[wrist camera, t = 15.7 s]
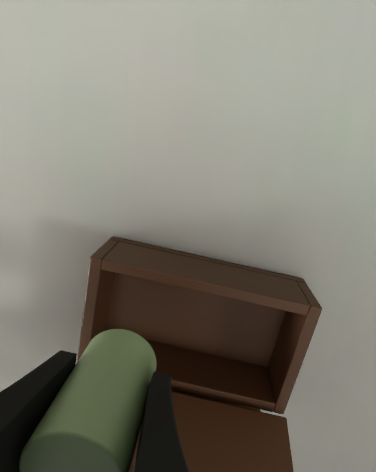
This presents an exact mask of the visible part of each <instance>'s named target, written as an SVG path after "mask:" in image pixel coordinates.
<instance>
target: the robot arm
mask: <svg viewBox="0 0 376 472" xmlns="http://www.w3.org/2000/svg"><path fill="white" fill-rule="evenodd" d="M76 355H77V354H75V353H70V352H66V351H62V350H61V351H59V352H58V353H56V354H55V355H53V356H52V357H51V358H49V359H48V360H47V361H45V362H44V363H42V364H41V365H40V366H38V367H37V368H36V369H34V370H33V371H31V372H30V373H28V374H27V375H25V376H24V377H23V378H21V379H20V380H18V381H17V382H15V383H14V384H12V385H11V386H9V387H8V388H6V389H4V390H3V391H1V392H0V472H20V471H19V460H20V456H21V452H22V450H23V448H24V447H25V445H26V443H27V442H28V440H29V439H30V437H31V435H32V434H33V432H34V431H35V429H36V427H37V426H38V424H39V423H40V421H41V419H42V418H43V416H44V415H45V413H46V411H47V410H48V408H49V407H50V405H51V403H52V402H53V400H54V399H55V397H56V396H57V394H58V392H59V391H60V389H61V388H62V386H63V384H64V383H65V381H66V380H67V378H68V376H69V375H70V373H71V372H72V370H73V368H74V367H75V363H76ZM171 380H172V378H171V376H170V375H168V374H163V373H159V372H153V375H152V379H151V382H150V386H149V391H148V396H147V401H146V406H145V411H144V416H143V421H142V425H141V430H140V435H139V440H138V446H137V452H136V458H135V464H134V471H133V472H189V470H188V467H187V464H186V461H185V457H184V454H183V451H182V447H181V443H180V439H179V435H178V431H177V426H176V421H175V415H174V409H173V402H172V391H171Z"/></svg>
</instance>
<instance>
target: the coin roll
mask: <svg viewBox="0 0 376 472" xmlns="http://www.w3.org/2000/svg"><path fill="white" fill-rule="evenodd" d="M156 364H157V363H156V356H155V353H154V351H153V349H152V347H151V346H150V344H149V343H148V342H147V341H146V340H145V339H144V338H143V337H141V336H140V335H138V334H136V333H134V332H132V331H129V330H125V329H110V330H106V331H104V332H101V333H100V334H98V335H96V336H95V337H94V338H93V339H92V340H91V342H90V343H89V345H88V346H87V348H86V349H85V351H84V352H83V354H82V356H81V357H80V359H79V360H78V362H77V364H76V365H75V367H74V368H73V370H72V372H71V373H70V375H69V376H68V378H67V380H66V381H65V383H64V384H63V386H62V388H61V389H60V391H59V392H58V394H57V396H56V397H55V399H54V400H53V402H52V403H51V405H50V407H49V408H48V410H47V411H46V413H45V415H44V416H43V418H42V419H41V421H40V423H39V424H38V426H37V427H36V429H35V431H34V432H33V434H32V435H31V437H30V439H29V440H28V442H27V443H26V445H25V447H24V448H23V450H22V452H21V456H20V460H19V471H20V472H129V470H130V466H131V463H132V459H133V455H134V451H135V447H136V443H137V440H138V436H139V432H140V428H141V424H142V421H143V416H144V411H145V406H146V401H147V396H148V391H149V386H150V382H151V379H152V375H153V372H155V371H156Z"/></svg>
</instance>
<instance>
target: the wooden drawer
mask: <svg viewBox="0 0 376 472" xmlns="http://www.w3.org/2000/svg"><path fill="white" fill-rule="evenodd" d="M321 311H322V307H321V306H320V304H319V303H318V301H317V299H316V298H315V296H314V295H313V293H312V292H311V290H310V289H309V287H308V285H307V284H306V282H305V281H304V279H301V278H297V277H292V276H288V275H283V274H279V273H274V272H270V271H265V270H261V269H256V268H252V267H247V266H243V265H238V264H234V263H229V262H225V261H220V260H216V259H211V258H207V257H202V256H198V255H193V254H189V253H184V252H180V251H175V250H171V249H166V248H162V247H157V246H153V245H148V244H144V243H139V242H135V241H130V240H126V239H121V238H117V237H111V238H110V239H109V240H108V241H107V242H106V243H105V244H104V245H103V246H102V247H100V248H99V249H98V250H97V251H96V252H95V253H94V254H93V255H92V256H91V257H90V265H89V273H88V281H87V289H86V297H85V305H84V313H83V321H82V329H81V337H80V345H79V353H78V360H79V359H80V357H81V356H82V354H83V352H84V351H85V349H86V348H87V346H88V345H89V343H90V342H91V340H92V339H93V338H94V337H95V336H96V335H98V334H100V333H101V332H104V331H106V330H110V329H125V330H129V331H132V332H134V333H136V334H138V335H140V336H141V337H143V338H144V339H145V340H146V341H147V342H148V343H149V344H150V346H151V347H152V349H153V351H154V353H155V356H156V363H157V364H156V371H155V372H159V373H163V374H168V375H170V376H171V378H172V380H171V389H175V390H179V391H184V392H188V393H192V394H197V395H201V396H205V397H210V398H214V399H218V400H223V401H227V402H231V403H236V404H240V405H244V406H249V407H253V408H257V409H262V410H266V411H270V412H275V413H279V414H284V411H285V408H286V406H287V403H288V400H289V397H290V395H291V392H292V389H293V387H294V384H295V381H296V378H297V376H298V373H299V370H300V368H301V365H302V362H303V359H304V357H305V354H306V351H307V349H308V346H309V343H310V340H311V338H312V335H313V332H314V330H315V327H316V324H317V321H318V319H319V316H320V313H321ZM77 362H78V361H77Z"/></svg>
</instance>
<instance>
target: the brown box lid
mask: <svg viewBox="0 0 376 472" xmlns="http://www.w3.org/2000/svg"><path fill="white" fill-rule="evenodd" d="M172 402H173V409H174V415H175V421H176V426H177V431H178V435H179V439H180V443H181V447H182V451H183V454H184V457H185V461H186V464H187V467H188V470H189V472H293V464H292V457H291V449H290V442H289V434H288V427H287V419H286V418H285V417H280V416H276V415H272V414H267V413H263V412H259V411H254V410H250V409H246V408H241V407H237V406H233V405H228V404H224V403H220V402H215V401H211V400H207V399H202V398H198V397H194V396H189V395H185V394H181V393H176V392H172ZM141 425H142V424H141ZM140 430H141V428H140ZM139 435H140V432H139ZM138 440H139V436H138ZM138 440H137V443H136V447H135V451H134V455H133V459H132V463H131V466H130V470H129V472H133V471H134V464H135V458H136V452H137V446H138Z"/></svg>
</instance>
